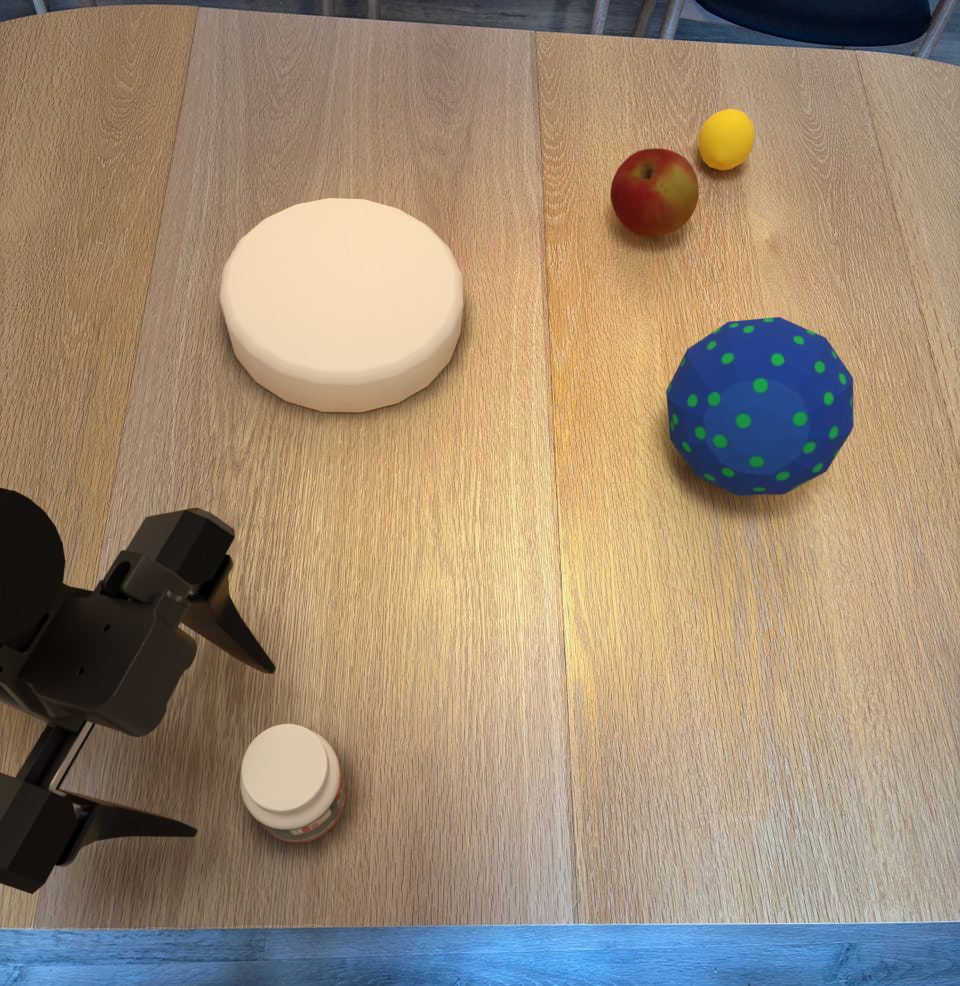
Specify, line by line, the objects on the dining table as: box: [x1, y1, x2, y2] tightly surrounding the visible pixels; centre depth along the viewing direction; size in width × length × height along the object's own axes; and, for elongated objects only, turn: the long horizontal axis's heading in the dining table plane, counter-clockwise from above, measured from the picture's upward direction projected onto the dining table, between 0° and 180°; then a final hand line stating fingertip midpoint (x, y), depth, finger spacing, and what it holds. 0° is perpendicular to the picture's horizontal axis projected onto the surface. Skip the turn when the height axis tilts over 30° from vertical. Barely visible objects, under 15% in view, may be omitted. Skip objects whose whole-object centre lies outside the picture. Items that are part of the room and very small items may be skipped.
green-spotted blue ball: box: [665, 316, 855, 497], centre depth 67 cm, size 14×14×15 cm
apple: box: [609, 147, 700, 238], centre depth 79 cm, size 8×8×8 cm
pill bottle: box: [239, 723, 347, 844], centre depth 51 cm, size 6×6×10 cm
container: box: [218, 197, 464, 413], centre depth 72 cm, size 20×20×5 cm
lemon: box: [698, 108, 756, 171], centre depth 85 cm, size 7×5×5 cm
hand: (233, 748), depth 47 cm, fingers open, 9 cm apart
